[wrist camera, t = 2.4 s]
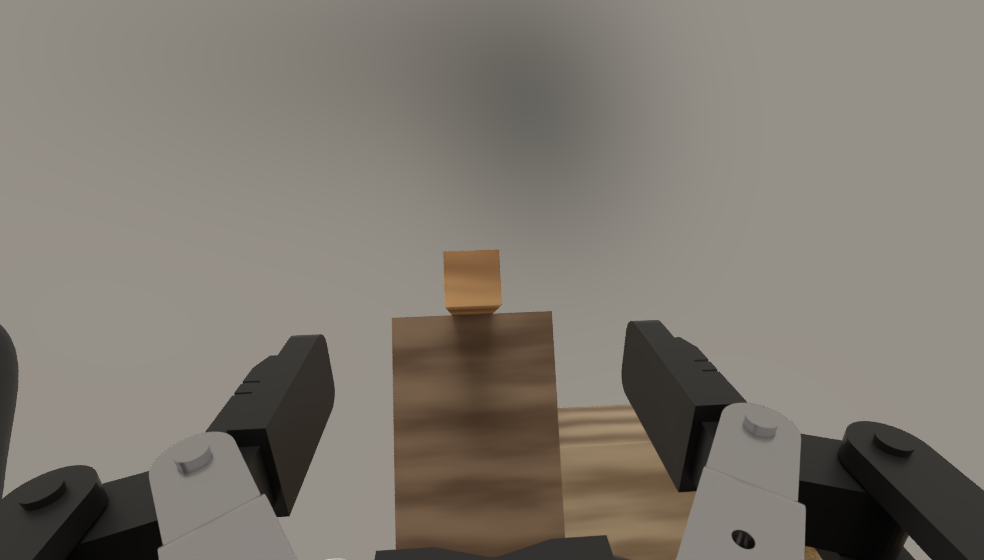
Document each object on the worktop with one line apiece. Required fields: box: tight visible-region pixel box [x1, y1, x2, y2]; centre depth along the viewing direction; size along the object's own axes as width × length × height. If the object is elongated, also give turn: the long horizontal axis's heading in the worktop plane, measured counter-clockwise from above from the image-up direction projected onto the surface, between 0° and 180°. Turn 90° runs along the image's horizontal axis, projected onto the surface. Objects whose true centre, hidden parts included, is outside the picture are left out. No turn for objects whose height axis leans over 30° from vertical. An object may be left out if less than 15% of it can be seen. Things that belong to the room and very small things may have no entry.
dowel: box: [443, 250, 502, 315], centre depth 37 cm, size 26×3×3 cm, turn 3°
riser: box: [392, 311, 696, 560], centre depth 41 cm, size 17×24×32 cm
